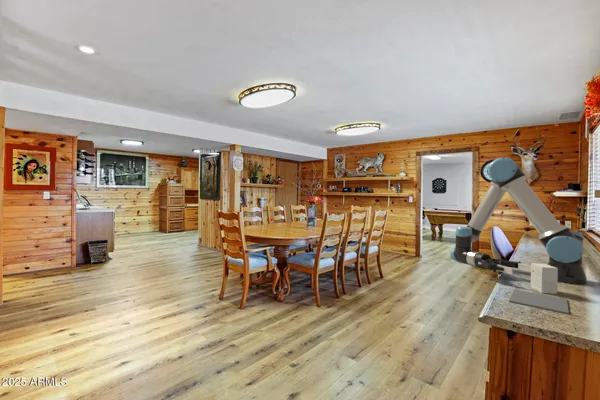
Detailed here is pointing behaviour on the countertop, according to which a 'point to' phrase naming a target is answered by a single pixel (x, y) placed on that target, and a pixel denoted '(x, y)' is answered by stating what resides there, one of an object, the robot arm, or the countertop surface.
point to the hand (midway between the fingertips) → (523, 270)
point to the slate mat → (540, 301)
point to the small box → (544, 278)
